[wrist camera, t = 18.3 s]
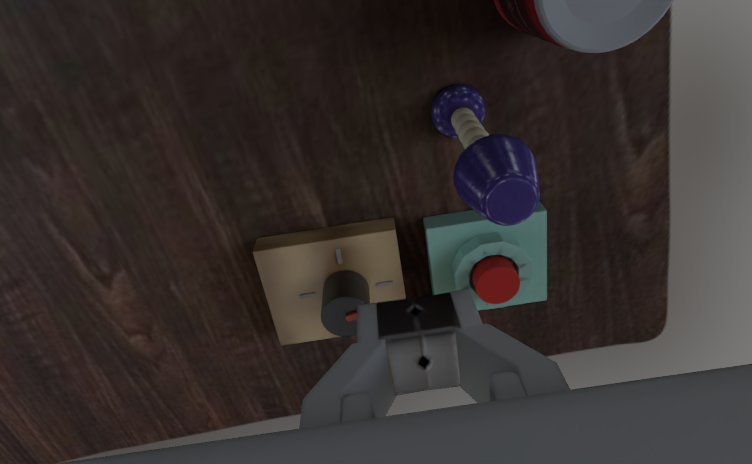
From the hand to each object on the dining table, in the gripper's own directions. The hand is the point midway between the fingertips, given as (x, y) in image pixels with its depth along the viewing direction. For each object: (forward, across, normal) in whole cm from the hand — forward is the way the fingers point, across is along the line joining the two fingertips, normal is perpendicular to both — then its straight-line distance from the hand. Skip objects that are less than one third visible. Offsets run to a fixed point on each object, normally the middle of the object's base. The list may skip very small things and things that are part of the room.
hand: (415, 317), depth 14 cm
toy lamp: (+29, -6, +3) cm, 30 cm away
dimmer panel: (+29, +6, +16) cm, 34 cm away
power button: (+25, -7, +16) cm, 31 cm away
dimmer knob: (+27, +5, +16) cm, 31 cm away
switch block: (+29, -7, +16) cm, 34 cm away
